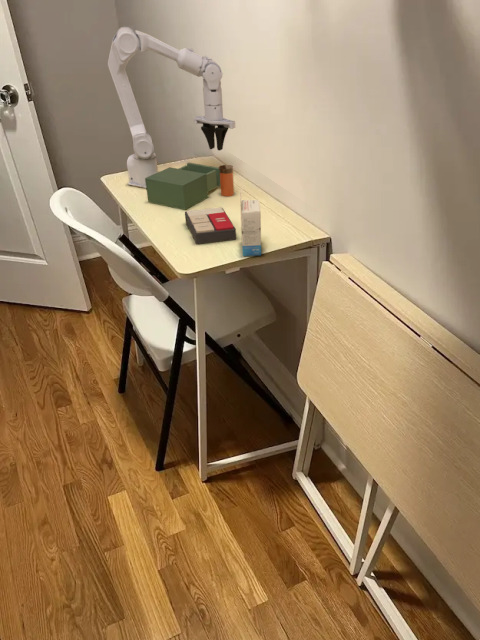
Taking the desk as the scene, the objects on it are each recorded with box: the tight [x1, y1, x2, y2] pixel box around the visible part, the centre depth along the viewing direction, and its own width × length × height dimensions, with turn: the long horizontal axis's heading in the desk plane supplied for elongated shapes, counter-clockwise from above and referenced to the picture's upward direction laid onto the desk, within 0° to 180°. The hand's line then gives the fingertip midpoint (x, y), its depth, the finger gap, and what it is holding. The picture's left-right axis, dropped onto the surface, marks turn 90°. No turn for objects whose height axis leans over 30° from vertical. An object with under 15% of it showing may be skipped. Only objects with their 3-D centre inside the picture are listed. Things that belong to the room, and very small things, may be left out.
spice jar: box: [218, 164, 235, 197], centre depth 179 cm, size 4×4×8 cm
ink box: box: [239, 188, 262, 257], centre depth 143 cm, size 9×5×15 cm, turn 5°
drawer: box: [178, 162, 220, 193], centre depth 183 cm, size 15×13×6 cm
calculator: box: [184, 206, 237, 245], centre depth 156 cm, size 11×4×15 cm
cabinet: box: [145, 166, 209, 211], centre depth 175 cm, size 12×14×7 cm
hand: (216, 149), depth 187 cm, fingers open, 3 cm apart
